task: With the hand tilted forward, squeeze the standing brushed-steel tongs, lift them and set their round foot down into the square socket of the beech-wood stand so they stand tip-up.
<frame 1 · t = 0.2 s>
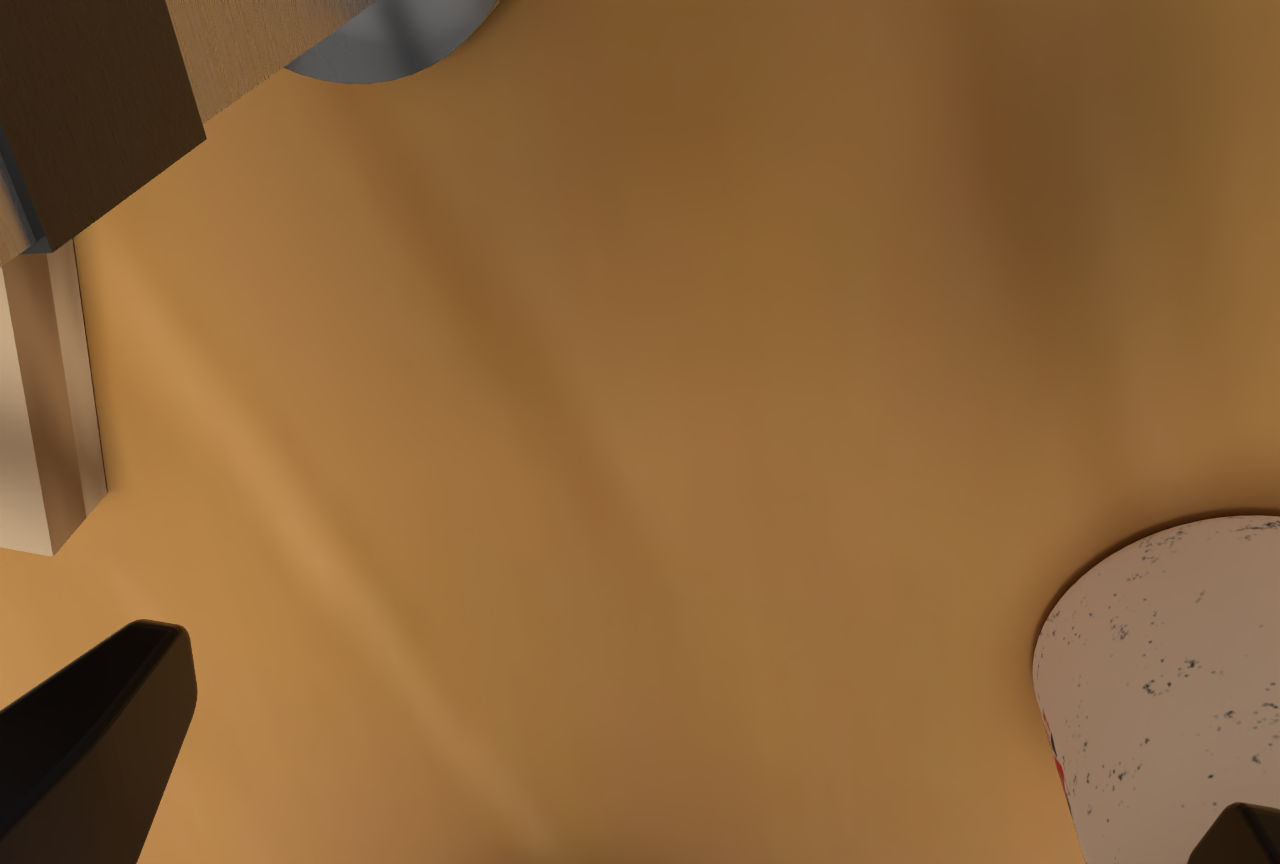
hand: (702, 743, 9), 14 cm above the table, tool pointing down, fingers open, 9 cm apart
teacup with lid: (1253, 663, 27), on the table
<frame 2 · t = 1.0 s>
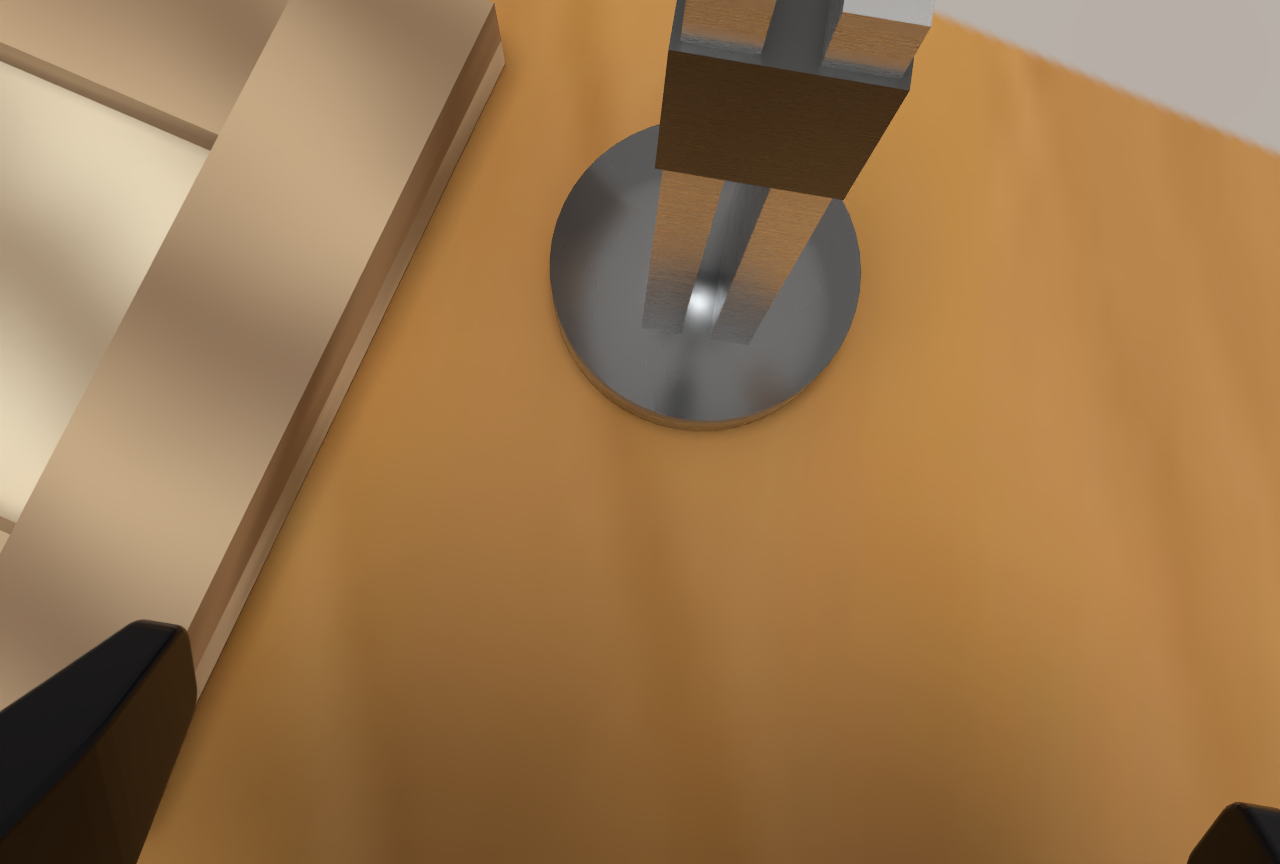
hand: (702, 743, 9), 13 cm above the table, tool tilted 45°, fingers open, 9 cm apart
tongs: (699, 286, 24), on the table
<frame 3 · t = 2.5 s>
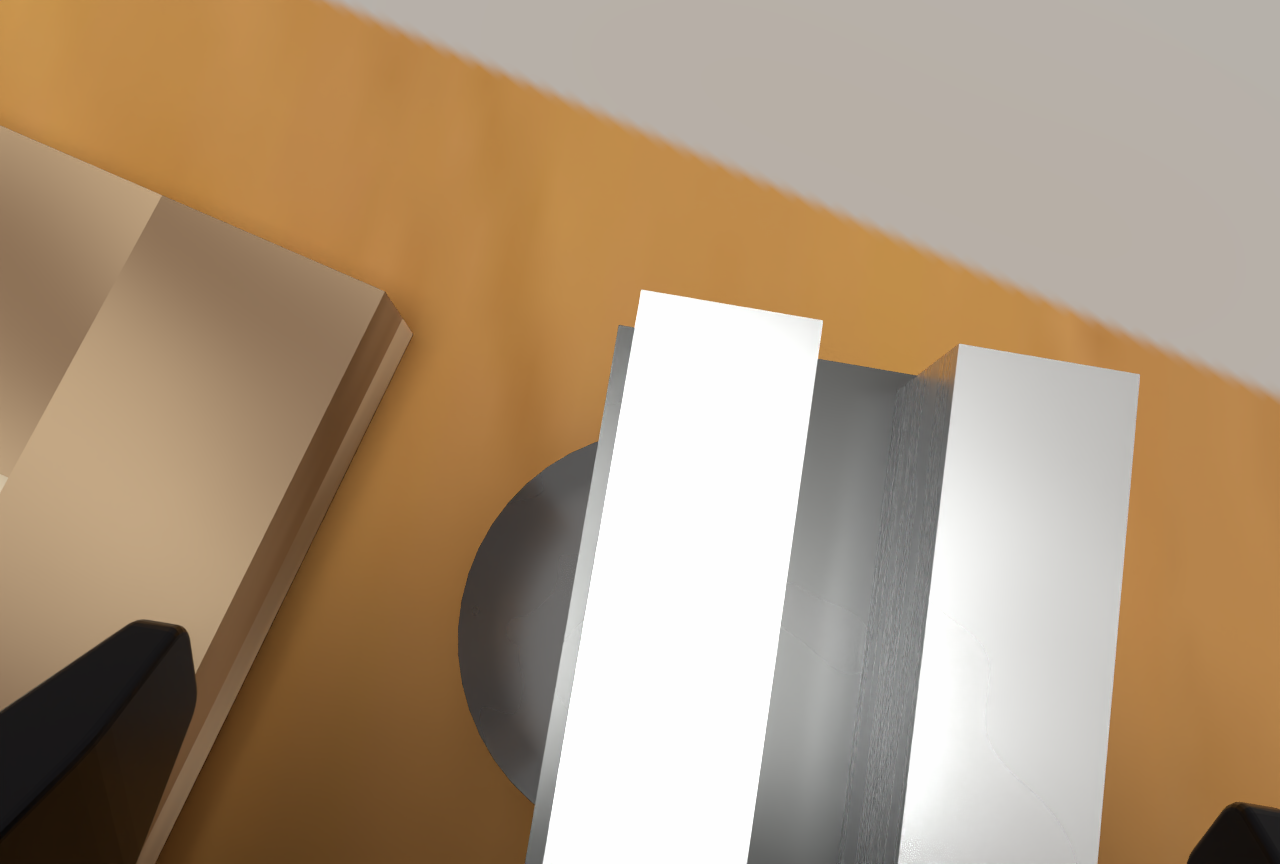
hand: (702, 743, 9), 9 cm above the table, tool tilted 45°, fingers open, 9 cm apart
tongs: (660, 633, 18), on the table
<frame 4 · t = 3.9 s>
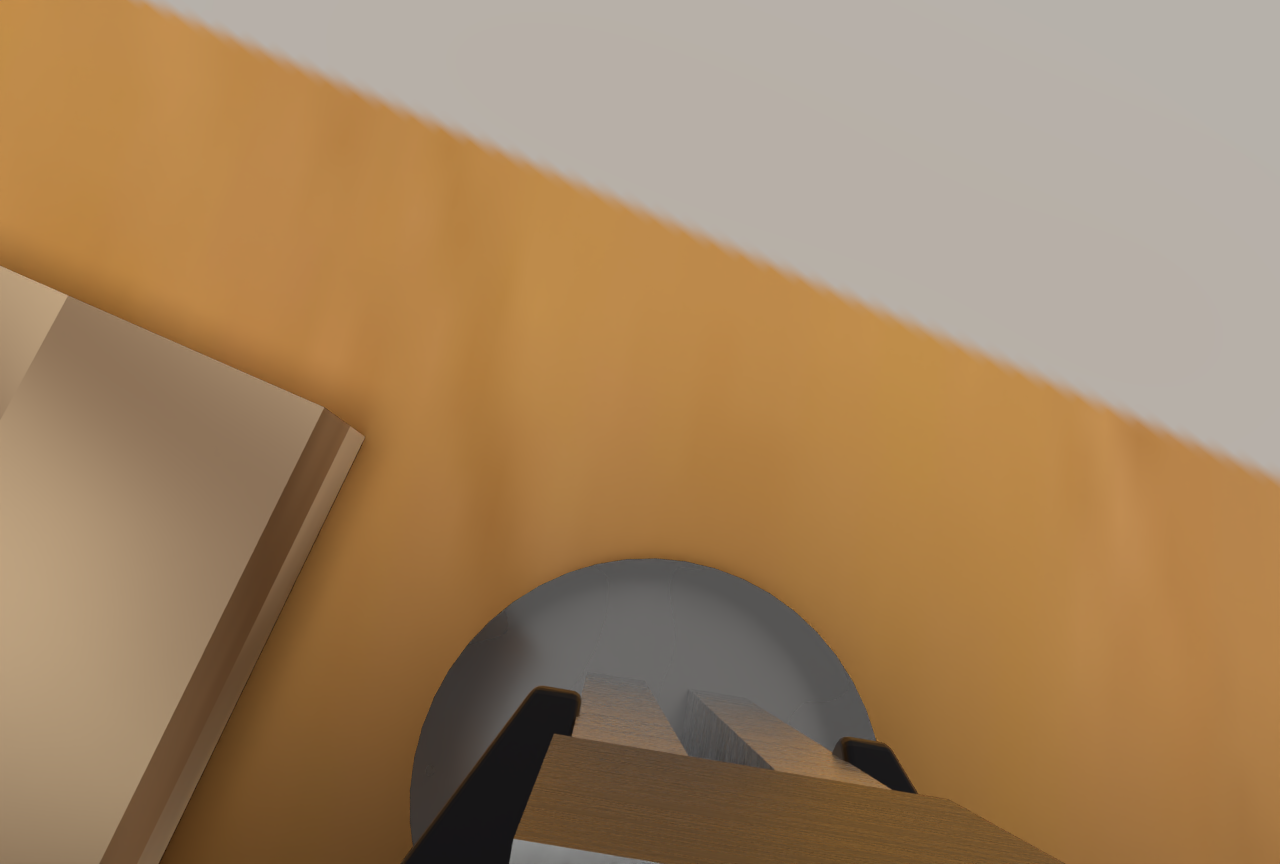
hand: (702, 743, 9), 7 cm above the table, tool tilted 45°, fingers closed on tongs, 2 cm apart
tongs: (644, 779, 16), on the table, touching gripper
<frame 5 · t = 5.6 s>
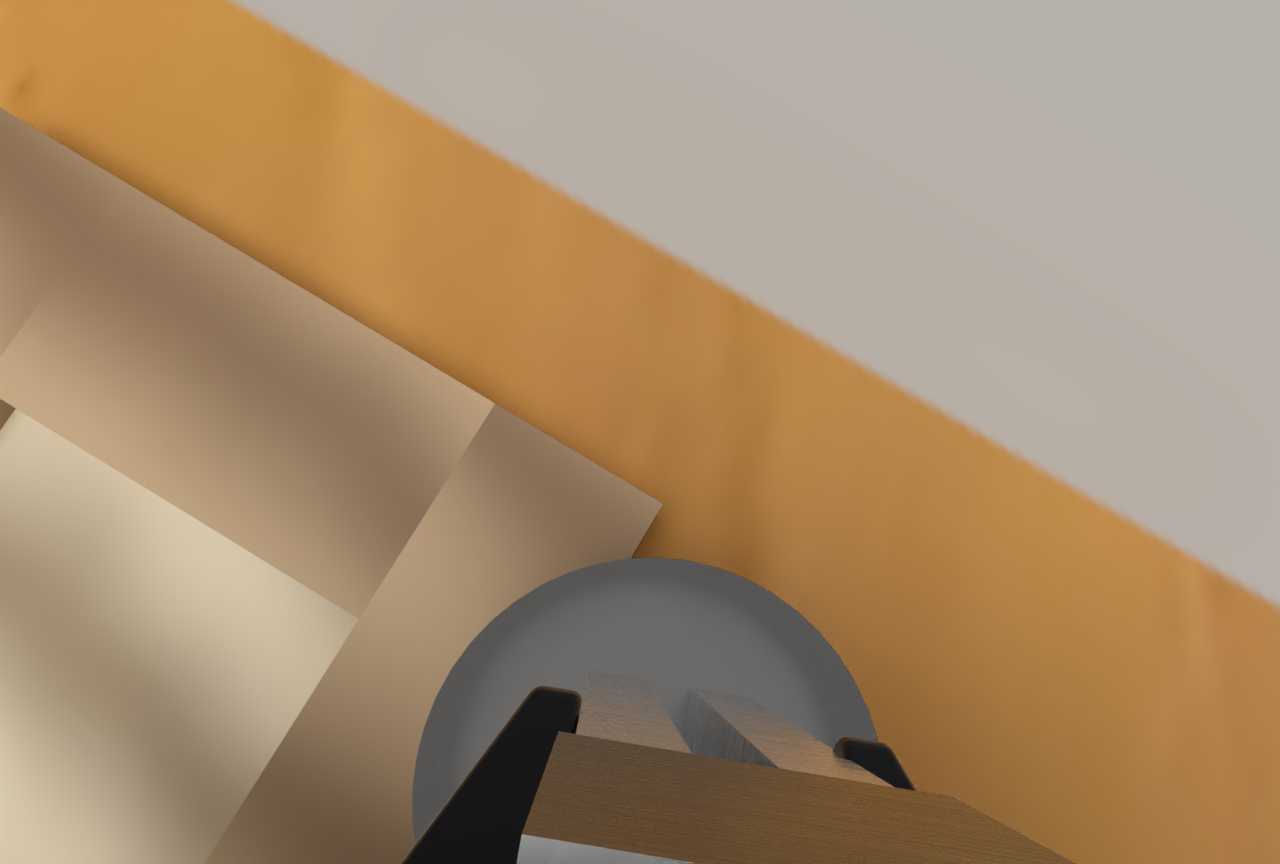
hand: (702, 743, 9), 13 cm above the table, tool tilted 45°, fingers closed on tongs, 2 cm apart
socket stand: (95, 690, 22), on the table
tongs: (646, 778, 16), point 6 cm above the table, touching gripper
when the fingers open (10 cm above the table, at t = 7.5 s): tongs drops 2 cm, resting on socket stand.
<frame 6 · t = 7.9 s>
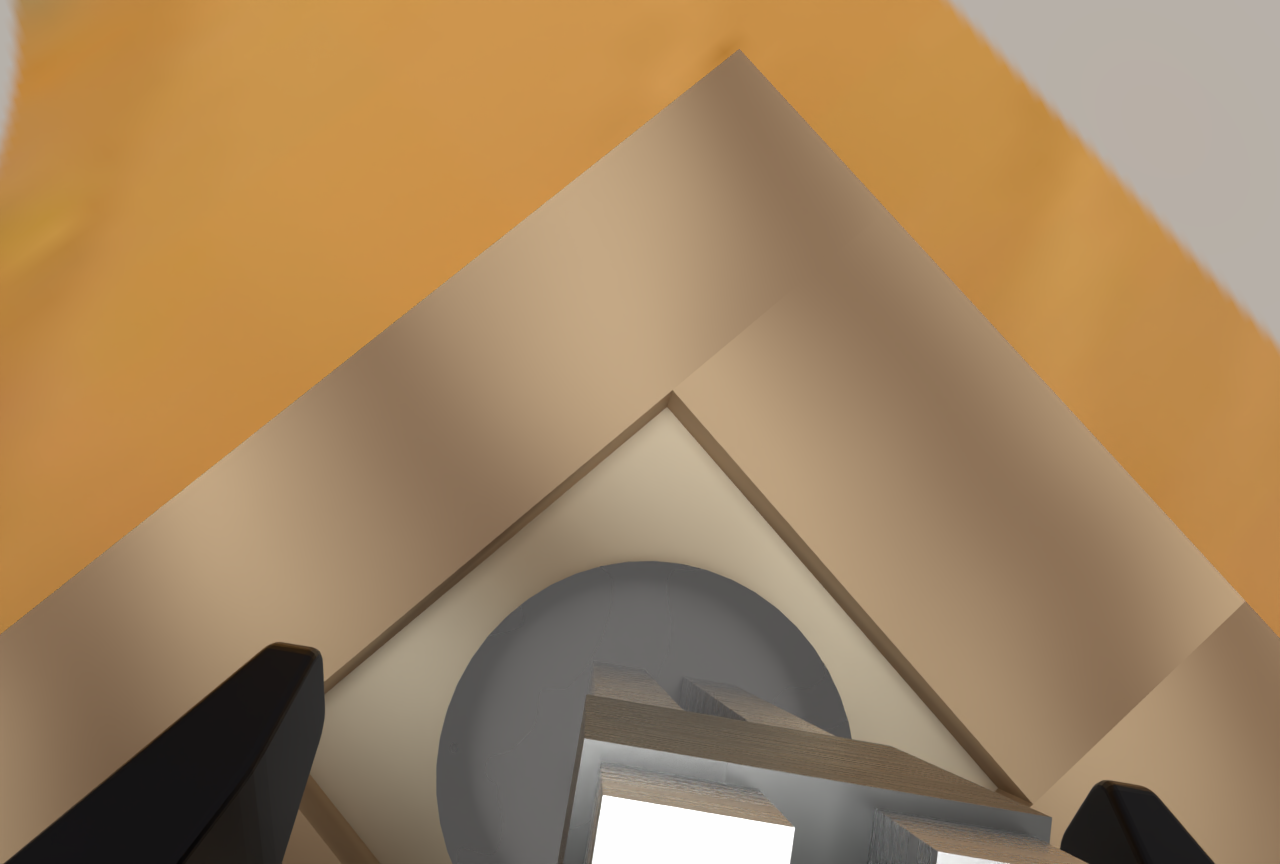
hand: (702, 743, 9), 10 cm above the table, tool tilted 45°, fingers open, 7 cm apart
socket stand: (638, 753, 19), on the table
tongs: (642, 759, 18), point 1 cm above the table, touching socket stand
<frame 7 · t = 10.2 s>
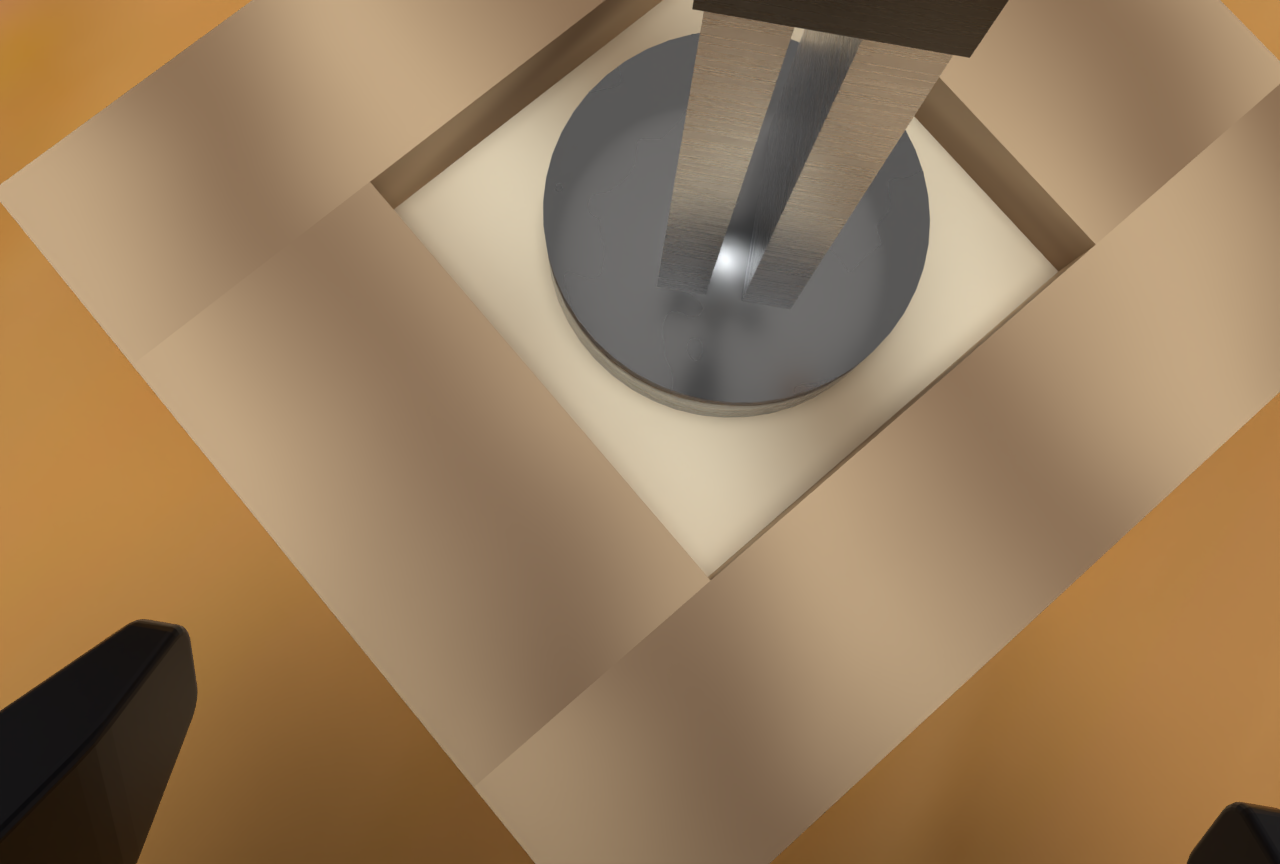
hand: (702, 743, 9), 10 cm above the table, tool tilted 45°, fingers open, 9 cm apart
socket stand: (719, 260, 20), on the table
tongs: (727, 240, 19), point 1 cm above the table, touching socket stand
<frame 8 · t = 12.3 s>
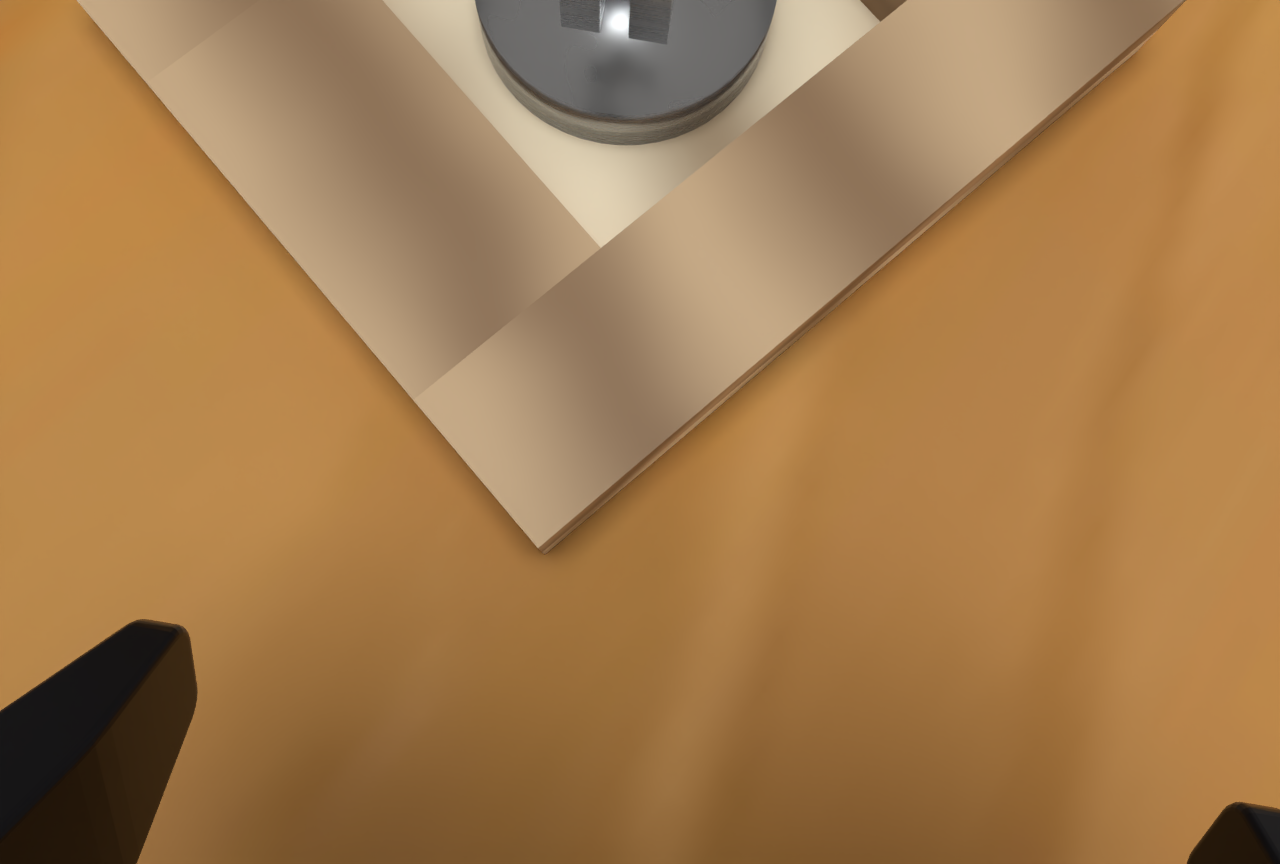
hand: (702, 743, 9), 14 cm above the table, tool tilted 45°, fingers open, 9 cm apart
socket stand: (622, 34, 25), on the table
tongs: (624, 8, 24), point 1 cm above the table, touching socket stand
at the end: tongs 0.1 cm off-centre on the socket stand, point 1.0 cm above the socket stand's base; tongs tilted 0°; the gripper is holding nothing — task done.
